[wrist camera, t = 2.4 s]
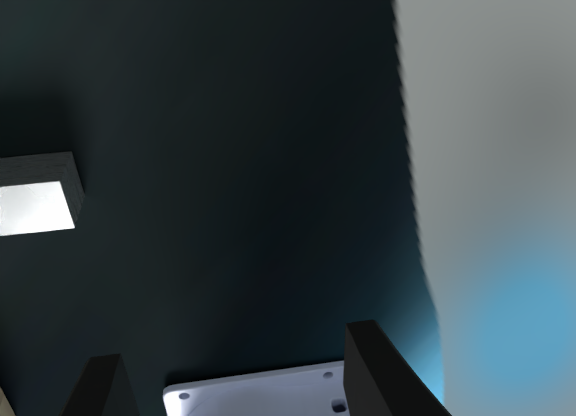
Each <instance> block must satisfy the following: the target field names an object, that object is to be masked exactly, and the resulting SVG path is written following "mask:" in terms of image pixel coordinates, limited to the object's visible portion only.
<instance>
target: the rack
mask: <svg viewBox="0 0 576 416" xmlns="http://www.w3.org/2000/svg"><path fill="white" fill-rule="evenodd" d="M0 416H15V414H14V412H13V410H12V408H11V406H10V404H9V402H8V401H7V399H6V397H5V395H4V393H3V391H2V389H1V387H0Z"/></svg>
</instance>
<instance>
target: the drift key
mask: <svg viewBox="0 0 576 416" xmlns="http://www.w3.org/2000/svg"><path fill="white" fill-rule="evenodd" d="M84 196H85V195H84V192H83V188H82V185H81V182H80V178H79V175H78V171H77V168H76V165H75V161H74V158H73V154H72V151H69V152H58V153H48V154H37V155H26V156H15V157H5V158H0V236H3V235H12V234H22V233H31V232H40V231H49V230H58V229H68V228H75V224H76V221H77V218H78V215H79V212H80V208H81V205H82V202H83V199H84Z"/></svg>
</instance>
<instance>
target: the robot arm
mask: <svg viewBox="0 0 576 416" xmlns="http://www.w3.org/2000/svg"><path fill="white" fill-rule="evenodd" d="M163 400H164V404H165V408H166V412H167V416H452V415H451V414H450V413H449V412H448V411H447V410H446V409H445V407H444V406H443V405H442V404H441V403H440V402H439V401H438V399H437V398H436V397H435V396H434V395H433V394H432V392H431V391H430V390H429V389H428V388H427V387H426V385H425V384H424V383H423V382H422V381H421V379H420V378H419V377H418V376H417V375H416V373H415V372H414V371H413V370H412V368H411V367H410V366H409V365H408V363H407V362H406V361H405V359H404V358H403V357H402V356H401V354H400V353H399V352H398V350H397V349H396V348H395V346H394V345H393V344H392V342H391V341H390V340H389V338H388V337H387V335H386V334H385V333H384V331H383V330H382V328H381V327H380V325H379V324H378V323H377V322H376V321H375V320H367V321H359V322H352V323H346V328H345V350H344V361H337V362H330V363H323V364H316V365H309V366H302V367H294V368H287V369H280V370H273V371H266V372H259V373H252V374H245V375H238V376H231V377H224V378H217V379H210V380H203V381H196V382H189V383H182V384H175V385H170V386H168V387H166V388H165V389H164V390H163ZM139 415H140V414H139V411H138V407H137V404H136V401H135V398H134V395H133V391H132V388H131V385H130V382H129V379H128V375H127V372H126V369H125V366H124V362H123V359H122V356H121V354H113V355H106V356H98V357H91V358H90V359H89V360H88V361H87V362H86V363H85V365H84V367H83V369H82V372H81V374H80V376H79V378H78V380H77V382H76V384H75V386H74V388H73V390H72V391H71V393H70V395H69V397H68V399H67V401H66V403H65V405H64V407H63V408H62V410H61V412H60V414H59V416H139Z"/></svg>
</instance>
